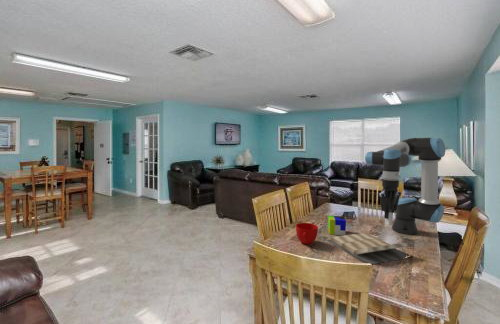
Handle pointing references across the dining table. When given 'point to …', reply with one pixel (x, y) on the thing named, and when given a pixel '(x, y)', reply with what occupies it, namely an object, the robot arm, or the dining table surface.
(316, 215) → the dining table surface
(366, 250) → the birch plank
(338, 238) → the floor section
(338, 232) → the puzzle toy
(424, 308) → the dining table surface
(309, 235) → the ceramic cup
